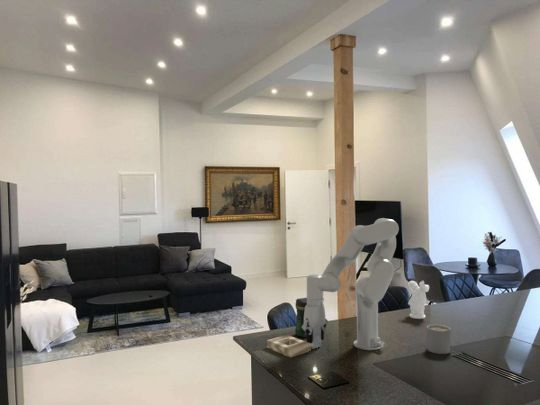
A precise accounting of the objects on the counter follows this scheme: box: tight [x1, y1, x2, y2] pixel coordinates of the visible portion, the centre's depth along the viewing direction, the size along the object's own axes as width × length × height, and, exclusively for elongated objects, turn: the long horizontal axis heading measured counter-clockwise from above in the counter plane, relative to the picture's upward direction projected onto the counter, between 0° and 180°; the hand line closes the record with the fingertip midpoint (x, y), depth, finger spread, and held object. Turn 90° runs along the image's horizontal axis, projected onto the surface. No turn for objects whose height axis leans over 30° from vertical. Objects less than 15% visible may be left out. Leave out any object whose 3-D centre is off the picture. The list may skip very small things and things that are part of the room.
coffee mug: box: [426, 324, 452, 355], centre depth 192 cm, size 13×10×10 cm
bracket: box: [309, 326, 322, 350], centre depth 196 cm, size 6×5×10 cm
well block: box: [267, 334, 312, 358], centre depth 193 cm, size 16×12×4 cm
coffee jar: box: [294, 297, 307, 338], centre depth 213 cm, size 10×8×19 cm
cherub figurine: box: [407, 280, 430, 320], centre depth 244 cm, size 12×12×22 cm
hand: (315, 340), depth 195 cm, fingers open, 6 cm apart
